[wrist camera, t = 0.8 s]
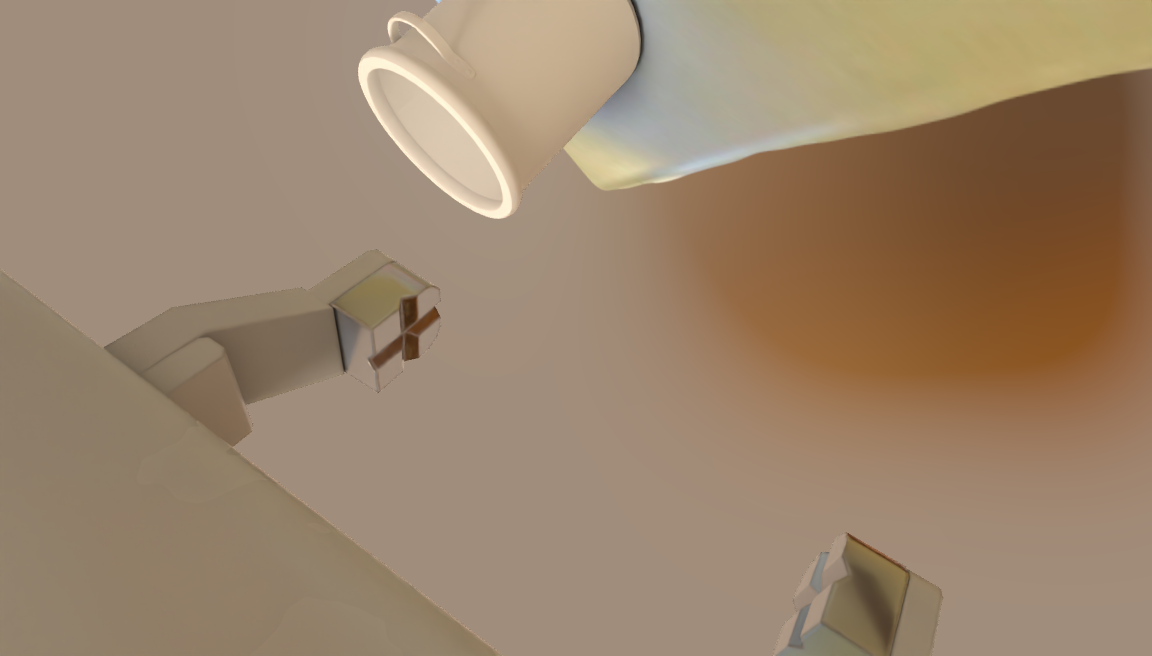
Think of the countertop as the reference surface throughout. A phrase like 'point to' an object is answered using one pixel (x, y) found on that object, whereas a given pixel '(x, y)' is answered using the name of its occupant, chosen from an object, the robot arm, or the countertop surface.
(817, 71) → the countertop surface
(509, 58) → the bucket
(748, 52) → the countertop surface
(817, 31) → the countertop surface
